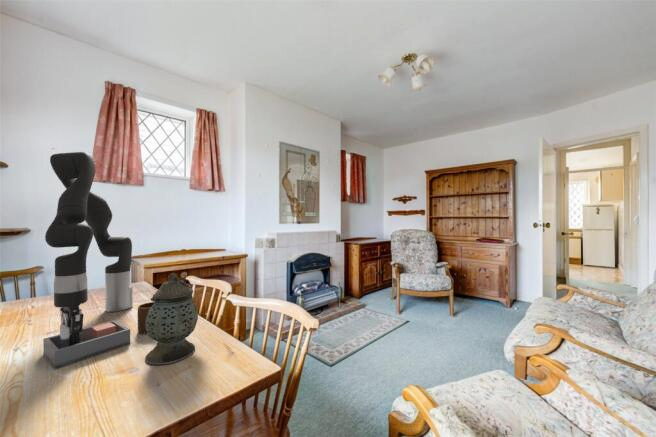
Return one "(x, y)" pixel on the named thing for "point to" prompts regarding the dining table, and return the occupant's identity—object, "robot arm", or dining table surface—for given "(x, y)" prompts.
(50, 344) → the tote
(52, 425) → the dining table surface
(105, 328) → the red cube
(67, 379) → the dining table surface
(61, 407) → the dining table surface
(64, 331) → the steel cylinder
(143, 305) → the mug
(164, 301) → the lantern
